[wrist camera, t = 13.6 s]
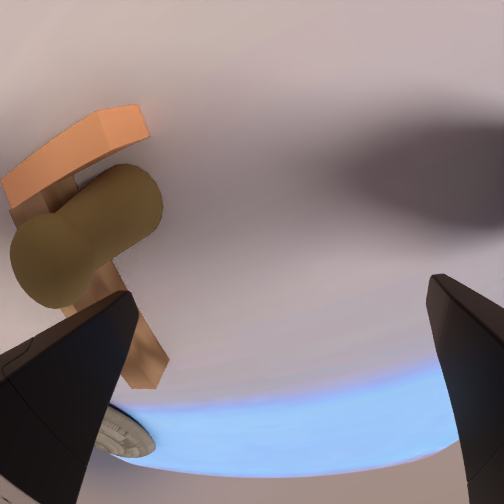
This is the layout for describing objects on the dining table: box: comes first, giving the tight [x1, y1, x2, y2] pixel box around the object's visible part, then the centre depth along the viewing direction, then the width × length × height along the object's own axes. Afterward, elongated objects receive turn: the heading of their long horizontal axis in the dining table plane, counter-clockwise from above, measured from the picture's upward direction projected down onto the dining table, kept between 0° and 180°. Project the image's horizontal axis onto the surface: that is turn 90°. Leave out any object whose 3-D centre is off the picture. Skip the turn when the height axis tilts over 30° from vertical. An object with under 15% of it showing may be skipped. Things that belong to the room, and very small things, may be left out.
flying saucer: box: [94, 406, 156, 458], centre depth 39 cm, size 15×15×6 cm
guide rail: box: [1, 104, 169, 389], centre depth 24 cm, size 22×17×5 cm
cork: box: [10, 164, 163, 309], centre depth 18 cm, size 6×6×11 cm
